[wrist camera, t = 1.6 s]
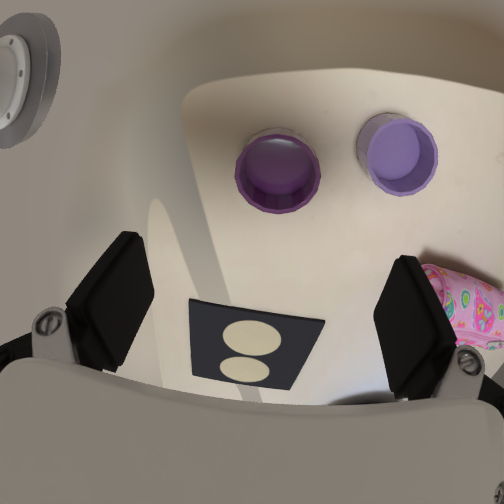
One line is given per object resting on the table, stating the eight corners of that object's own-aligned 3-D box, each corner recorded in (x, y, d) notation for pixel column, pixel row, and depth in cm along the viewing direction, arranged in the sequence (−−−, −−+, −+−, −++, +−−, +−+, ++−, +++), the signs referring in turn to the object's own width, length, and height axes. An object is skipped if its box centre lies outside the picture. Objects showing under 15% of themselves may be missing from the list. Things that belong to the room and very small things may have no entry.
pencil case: (505, 284, 29) (531, 324, 22) (473, 323, 34) (491, 365, 27) (424, 242, 27) (458, 296, 20) (385, 298, 32) (403, 355, 25)
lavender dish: (348, 172, 24) (357, 185, 21) (365, 103, 20) (378, 107, 17) (409, 189, 24) (423, 204, 21) (428, 127, 20) (446, 135, 17)
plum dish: (236, 191, 26) (230, 206, 23) (245, 122, 22) (240, 128, 20) (306, 203, 26) (309, 220, 23) (322, 135, 22) (328, 144, 20)
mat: (192, 373, 47) (192, 375, 46) (189, 298, 35) (188, 301, 35) (289, 388, 47) (289, 390, 46) (325, 320, 35) (325, 323, 35)
